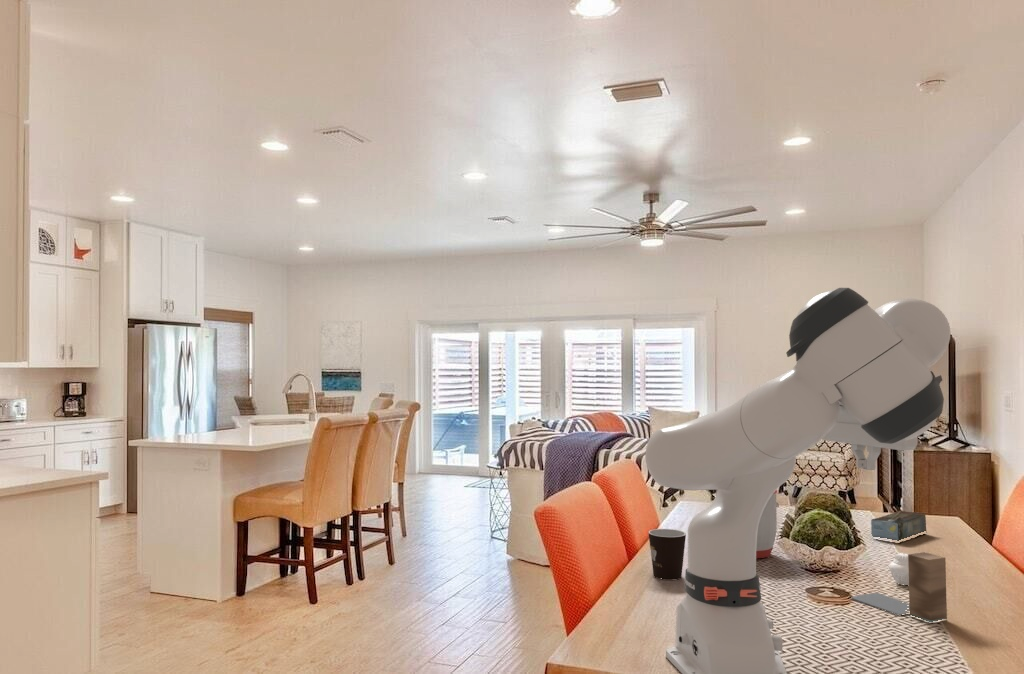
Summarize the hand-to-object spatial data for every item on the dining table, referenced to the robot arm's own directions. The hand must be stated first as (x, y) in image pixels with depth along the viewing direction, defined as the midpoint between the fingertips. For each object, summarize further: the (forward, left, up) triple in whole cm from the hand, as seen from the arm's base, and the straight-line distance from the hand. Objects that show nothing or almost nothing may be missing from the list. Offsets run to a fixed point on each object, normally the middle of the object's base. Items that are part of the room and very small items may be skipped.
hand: (865, 469), depth 140 cm
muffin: (+26, -20, -29) cm, 44 cm away
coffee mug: (+32, +32, -29) cm, 54 cm away
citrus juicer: (+52, +7, -29) cm, 60 cm away
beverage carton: (+73, -42, -30) cm, 90 cm away
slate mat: (+11, -9, -29) cm, 32 cm away
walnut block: (+3, -13, -29) cm, 32 cm away
